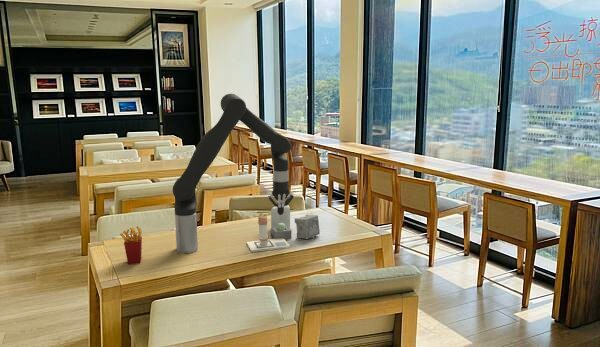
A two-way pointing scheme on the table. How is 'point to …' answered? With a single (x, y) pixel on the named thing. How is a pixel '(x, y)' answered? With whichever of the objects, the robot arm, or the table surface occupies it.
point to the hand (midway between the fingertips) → (280, 214)
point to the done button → (281, 226)
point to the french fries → (133, 245)
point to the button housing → (281, 232)
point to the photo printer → (280, 216)
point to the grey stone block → (307, 226)
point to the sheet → (272, 245)
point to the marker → (263, 230)
